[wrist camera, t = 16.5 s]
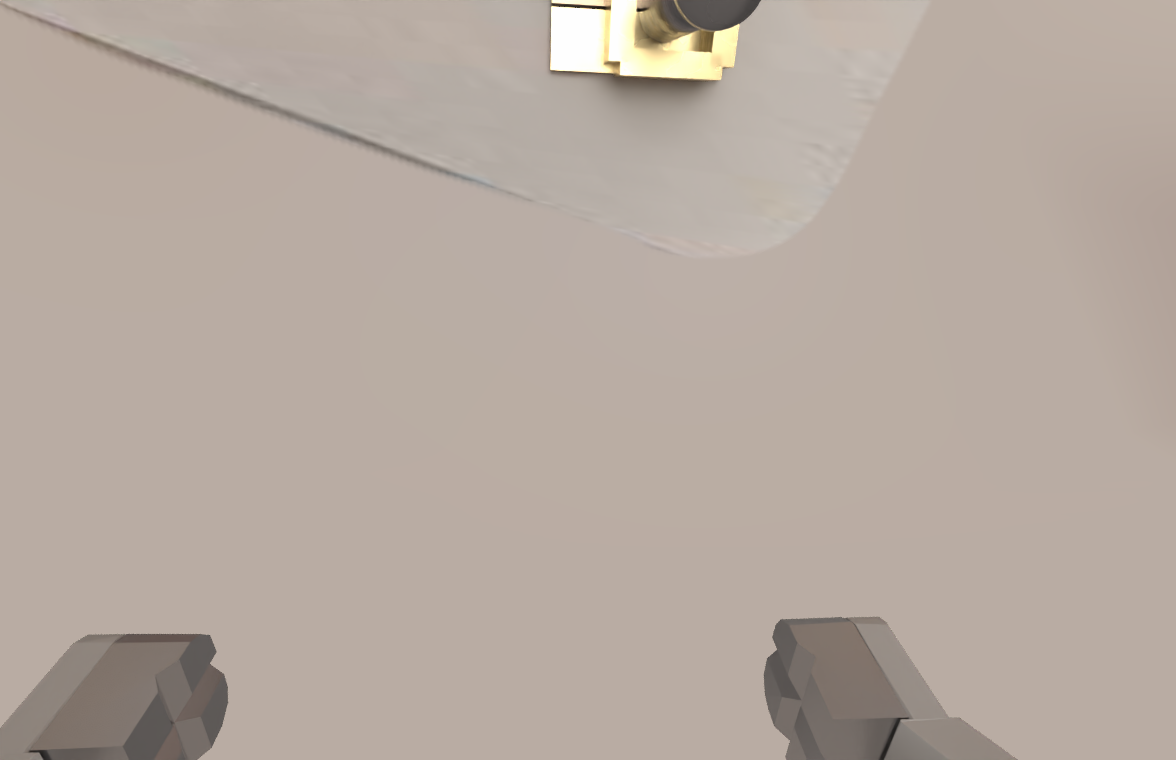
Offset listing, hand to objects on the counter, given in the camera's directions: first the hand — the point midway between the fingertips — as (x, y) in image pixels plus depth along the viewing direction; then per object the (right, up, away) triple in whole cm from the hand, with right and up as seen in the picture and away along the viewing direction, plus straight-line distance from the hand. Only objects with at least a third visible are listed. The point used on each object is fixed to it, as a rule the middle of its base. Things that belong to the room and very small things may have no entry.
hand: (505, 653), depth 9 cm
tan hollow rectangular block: (+4, +27, +29) cm, 40 cm away
